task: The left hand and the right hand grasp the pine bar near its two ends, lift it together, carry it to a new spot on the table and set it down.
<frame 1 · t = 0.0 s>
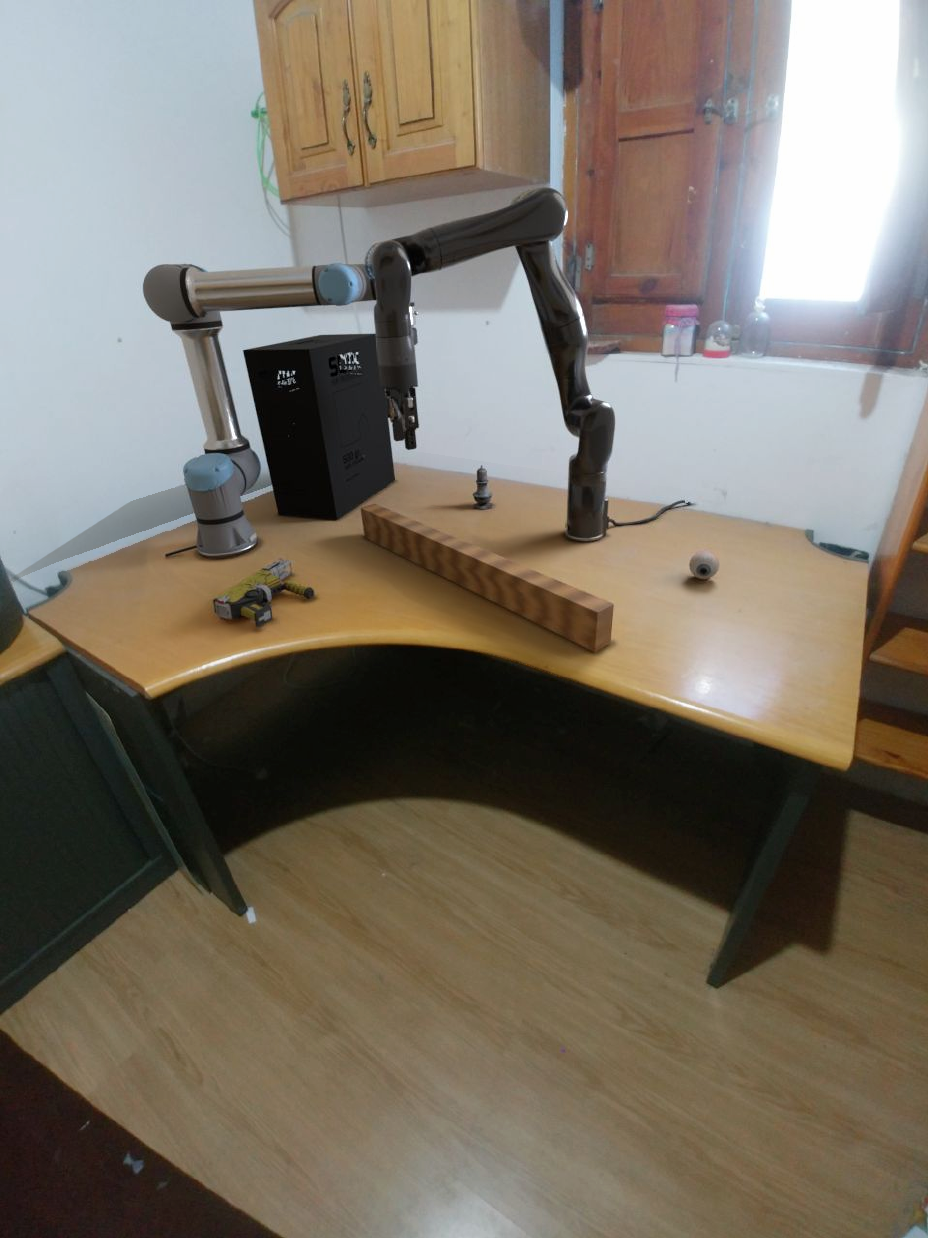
left hand: (409, 419, 154), 28 cm above the table, tool pointing down, fingers open, 13 cm apart
right hand: (405, 444, 126), 29 cm above the table, tool pointing down, fingers open, 8 cm apart
eyeball: (702, 578, 130), on the table
toy gun: (277, 600, 131), on the table
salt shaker: (483, 506, 177), on the table
cardboard box: (340, 496, 191), on the table
bar: (464, 580, 135), on the table
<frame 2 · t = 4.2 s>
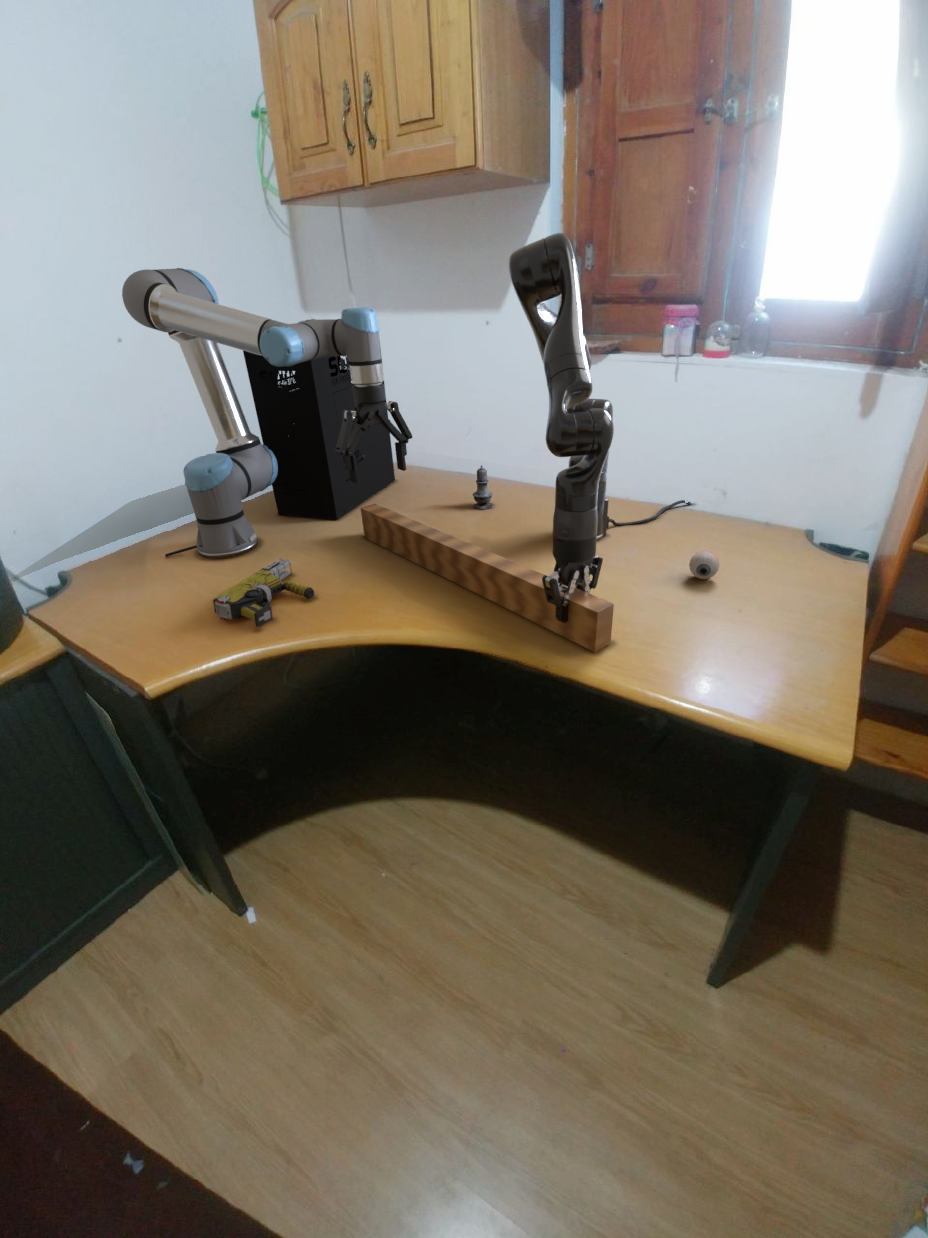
left hand: (379, 475, 148), 18 cm above the table, tool pointing down, fingers open, 13 cm apart
right hand: (571, 615, 112), 4 cm above the table, tool pointing down, fingers closed on bar, 4 cm apart
bar: (464, 580, 135), on the table, touching right hand
everything else where it was.
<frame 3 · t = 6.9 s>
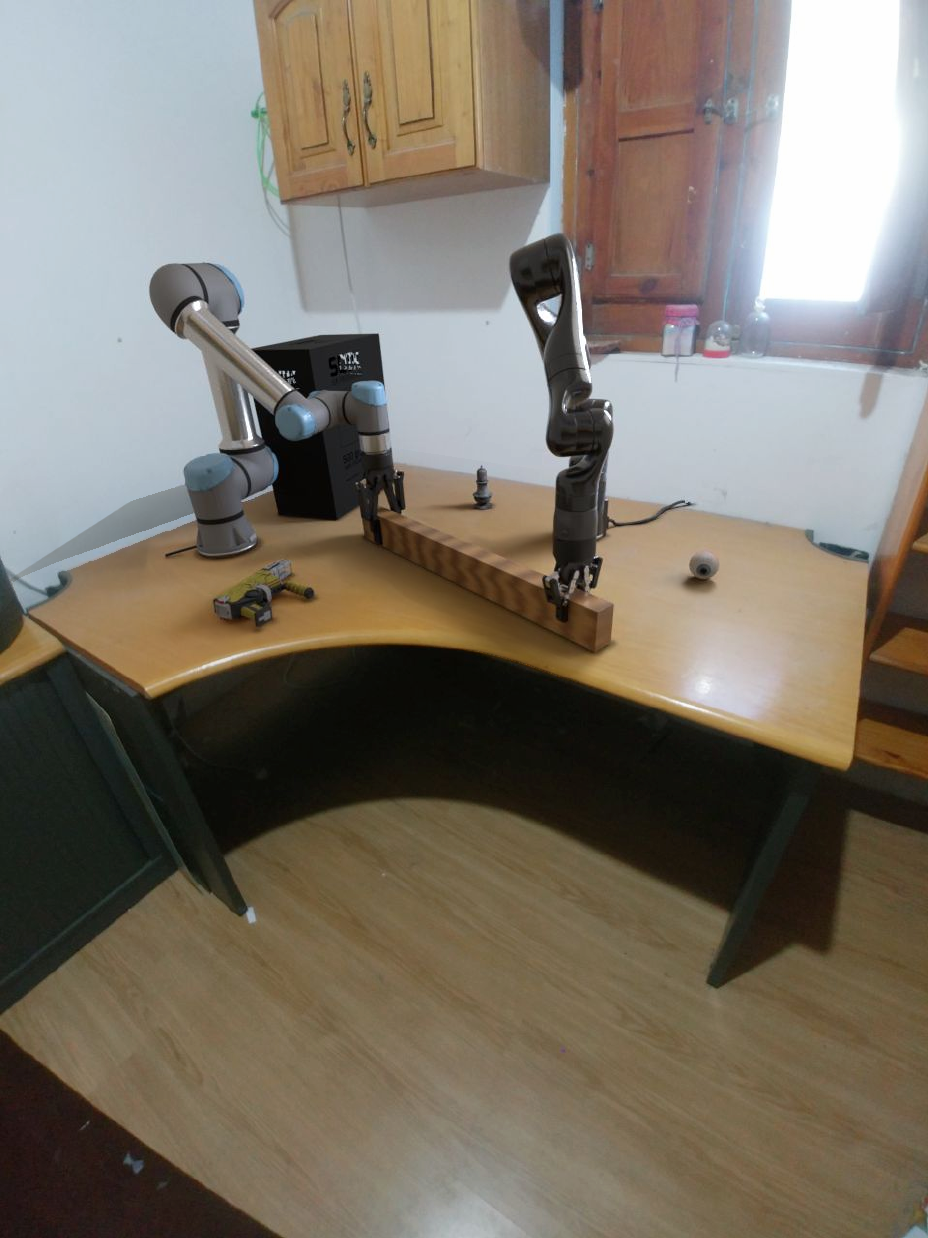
left hand: (387, 540, 156), 1 cm above the table, tool pointing down, fingers closed on bar, 4 cm apart
right hand: (571, 615, 112), 4 cm above the table, tool pointing down, fingers closed on bar, 4 cm apart
bar: (464, 580, 135), on the table, touching right hand, left hand
everything else where it was.
when the left hand's fingers open (2 cm above the table, at t = 13.0 s): bar drops 1 cm, on the table.
when the right hand's fingers open (5 cm above the table, at t = 13.2 s): bar stays where it is, on the table.
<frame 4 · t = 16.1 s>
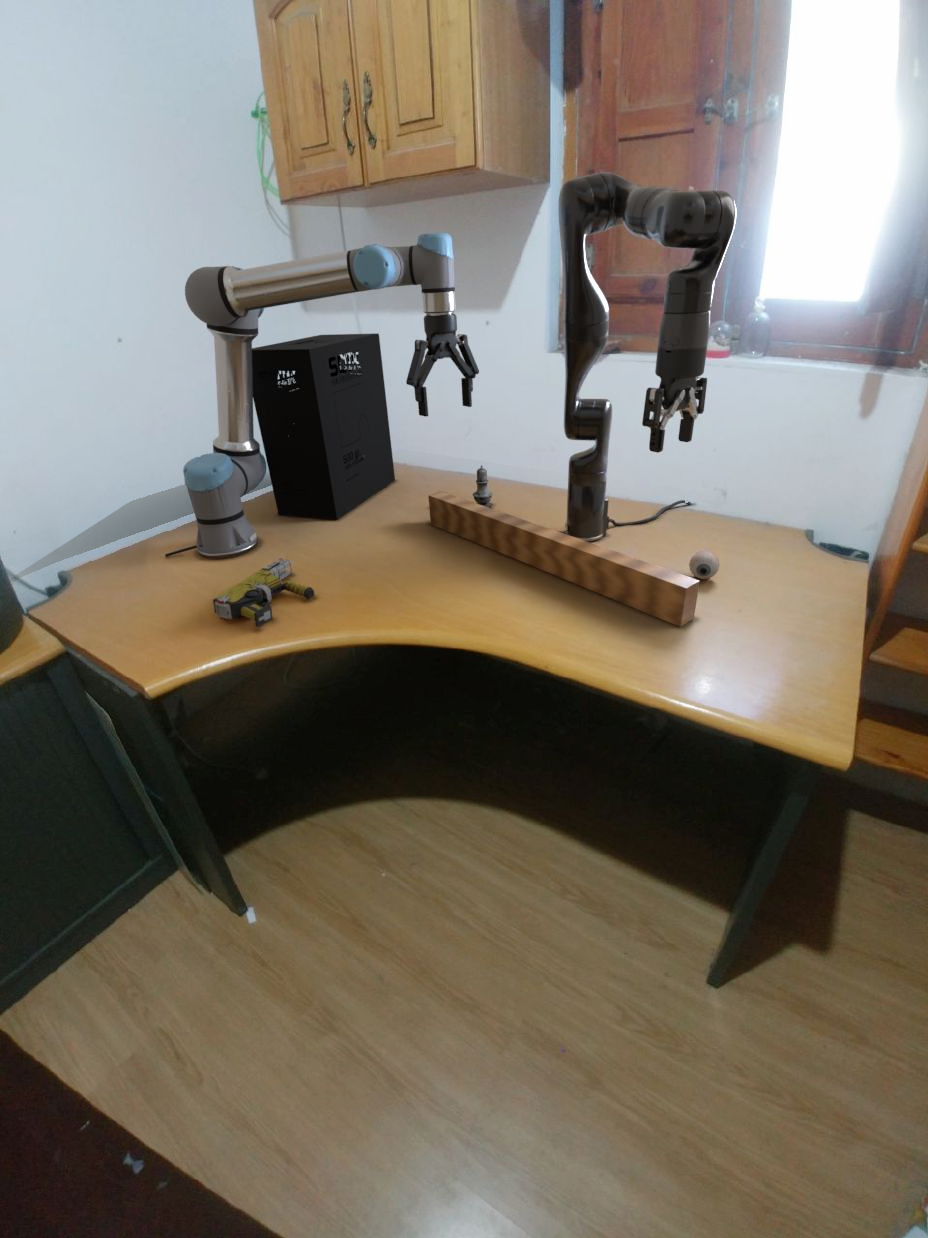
left hand: (446, 410, 147), 31 cm above the table, tool pointing down, fingers open, 13 cm apart
right hand: (670, 446, 104), 32 cm above the table, tool pointing down, fingers open, 8 cm apart
bar: (538, 562, 141), on the table
everything else where it was.
at the end: bar inside the target area (0.3 cm from its centre), on the table; bar tilted 0°; bar never tilted more than 2° during the clip; both hands held the bar at the same time; the left hand is holding nothing; the right hand is holding nothing; bar at rest at the end (0.0 cm/s) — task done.
